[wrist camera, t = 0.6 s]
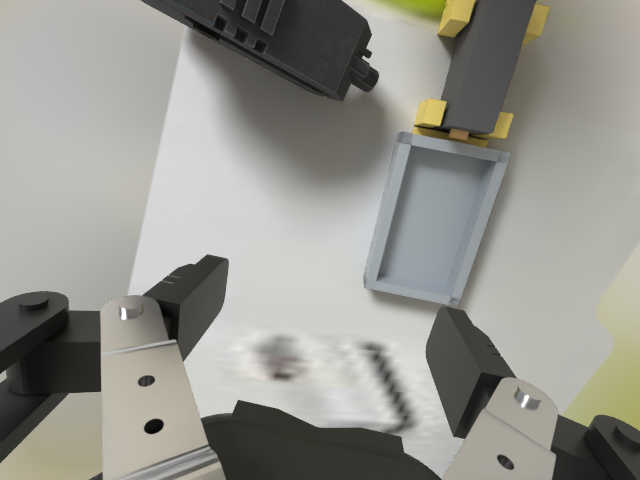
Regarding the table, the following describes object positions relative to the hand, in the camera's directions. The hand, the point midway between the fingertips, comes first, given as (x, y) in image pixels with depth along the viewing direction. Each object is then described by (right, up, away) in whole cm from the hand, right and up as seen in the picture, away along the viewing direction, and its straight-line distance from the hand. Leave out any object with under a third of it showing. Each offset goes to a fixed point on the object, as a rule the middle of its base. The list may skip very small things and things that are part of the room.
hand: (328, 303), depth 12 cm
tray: (+11, +5, +23) cm, 26 cm away
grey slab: (+14, +18, +19) cm, 29 cm away
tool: (-5, +22, +19) cm, 29 cm away
